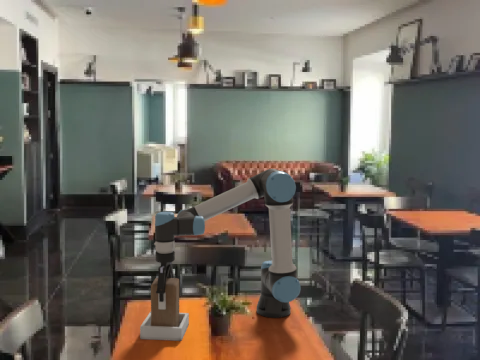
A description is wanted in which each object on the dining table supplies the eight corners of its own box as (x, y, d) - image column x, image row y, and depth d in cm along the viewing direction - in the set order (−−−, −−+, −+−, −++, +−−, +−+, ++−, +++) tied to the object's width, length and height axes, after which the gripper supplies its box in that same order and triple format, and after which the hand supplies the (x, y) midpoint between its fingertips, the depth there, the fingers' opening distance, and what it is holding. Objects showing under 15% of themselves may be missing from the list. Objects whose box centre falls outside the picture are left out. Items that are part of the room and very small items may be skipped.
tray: (188, 324, 224) (188, 313, 224) (181, 340, 208) (181, 328, 208) (150, 323, 226) (150, 311, 225) (140, 338, 210) (140, 326, 209)
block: (175, 334, 212) (175, 285, 209) (150, 333, 212) (150, 284, 210) (179, 324, 222) (179, 277, 219) (155, 324, 222) (155, 276, 220)
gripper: (162, 243, 226) (163, 292, 228) (147, 259, 201) (149, 314, 204) (180, 243, 225) (181, 292, 228) (167, 259, 200) (168, 314, 203)
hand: (165, 303), depth 216 cm, fingers open, 13 cm apart
